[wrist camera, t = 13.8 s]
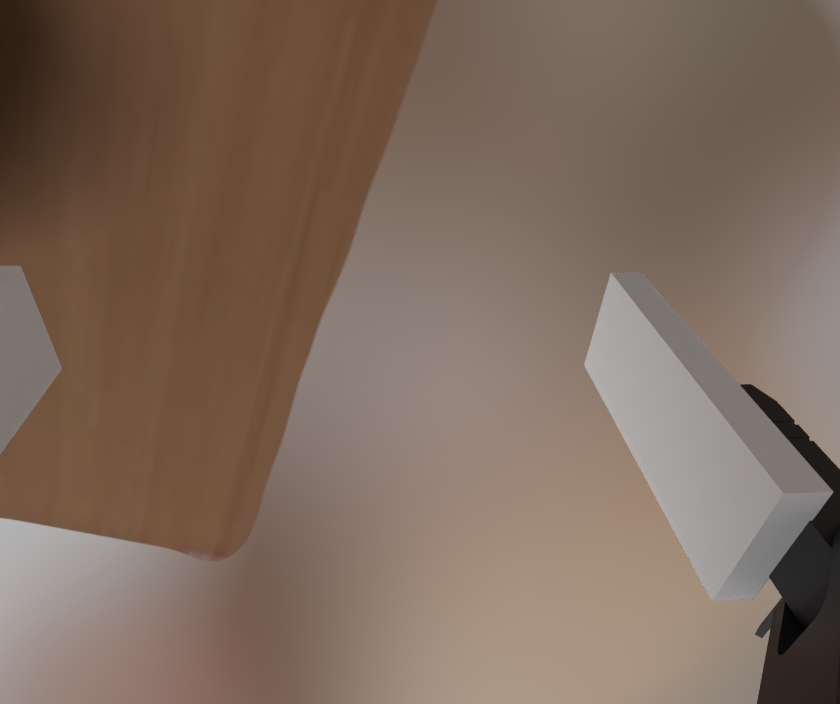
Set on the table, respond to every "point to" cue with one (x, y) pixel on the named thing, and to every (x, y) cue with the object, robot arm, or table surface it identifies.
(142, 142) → the table surface
